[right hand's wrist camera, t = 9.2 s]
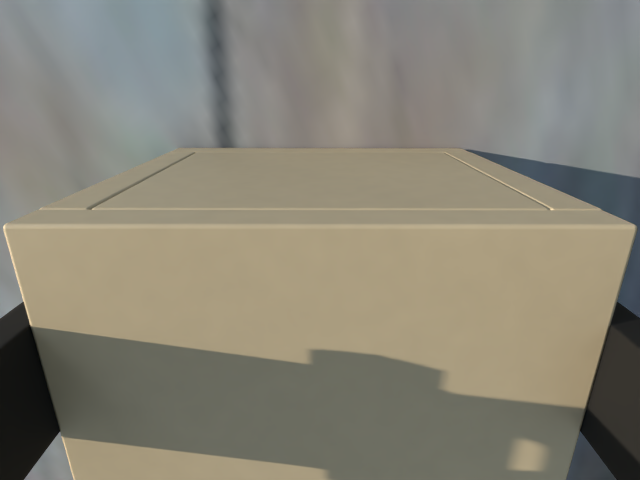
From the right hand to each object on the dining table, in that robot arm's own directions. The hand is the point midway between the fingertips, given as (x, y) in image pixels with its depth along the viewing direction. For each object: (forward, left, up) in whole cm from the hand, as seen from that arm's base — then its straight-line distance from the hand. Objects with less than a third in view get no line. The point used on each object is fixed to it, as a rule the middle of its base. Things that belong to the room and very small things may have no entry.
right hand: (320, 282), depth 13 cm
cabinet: (+3, +6, -5) cm, 9 cm away
